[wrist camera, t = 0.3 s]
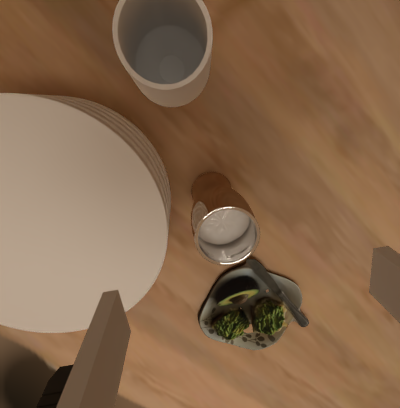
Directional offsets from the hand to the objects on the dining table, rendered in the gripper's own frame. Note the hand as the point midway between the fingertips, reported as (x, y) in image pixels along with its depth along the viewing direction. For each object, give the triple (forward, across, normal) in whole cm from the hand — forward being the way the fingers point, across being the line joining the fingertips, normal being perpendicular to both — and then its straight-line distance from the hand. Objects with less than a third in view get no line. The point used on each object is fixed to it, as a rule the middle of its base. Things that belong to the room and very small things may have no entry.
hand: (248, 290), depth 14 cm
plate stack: (+28, -19, -1) cm, 34 cm away
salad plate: (+28, +4, -26) cm, 38 cm away
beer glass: (+28, +1, -4) cm, 28 cm away
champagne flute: (+28, -2, +12) cm, 30 cm away
